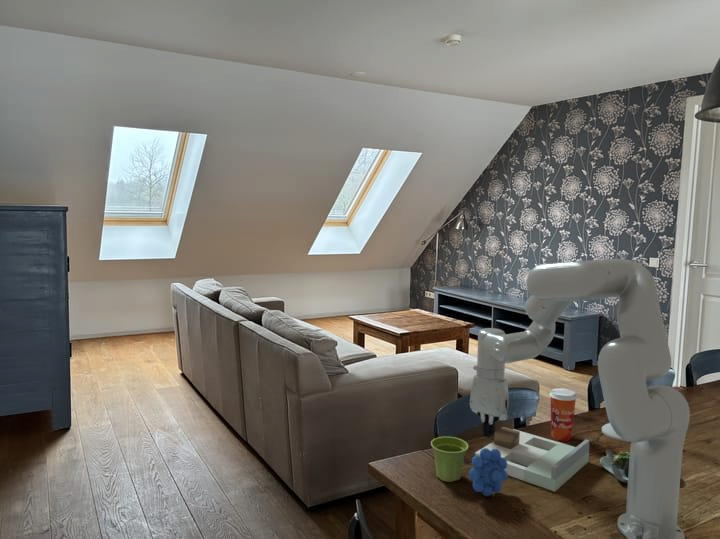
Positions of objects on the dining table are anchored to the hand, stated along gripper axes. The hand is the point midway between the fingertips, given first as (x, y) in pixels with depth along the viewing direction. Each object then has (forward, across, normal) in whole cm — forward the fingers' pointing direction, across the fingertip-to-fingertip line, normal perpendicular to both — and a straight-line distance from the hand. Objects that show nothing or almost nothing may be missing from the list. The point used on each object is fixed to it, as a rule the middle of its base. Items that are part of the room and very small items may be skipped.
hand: (488, 435), depth 159 cm
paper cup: (+4, +12, +22) cm, 25 cm away
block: (+1, +6, 0) cm, 6 cm away
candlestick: (+4, +25, +38) cm, 46 cm away
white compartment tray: (+4, +13, 0) cm, 14 cm away
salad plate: (+4, +36, +13) cm, 39 cm away
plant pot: (+4, +1, -22) cm, 22 cm away
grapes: (+4, +14, -24) cm, 28 cm away
